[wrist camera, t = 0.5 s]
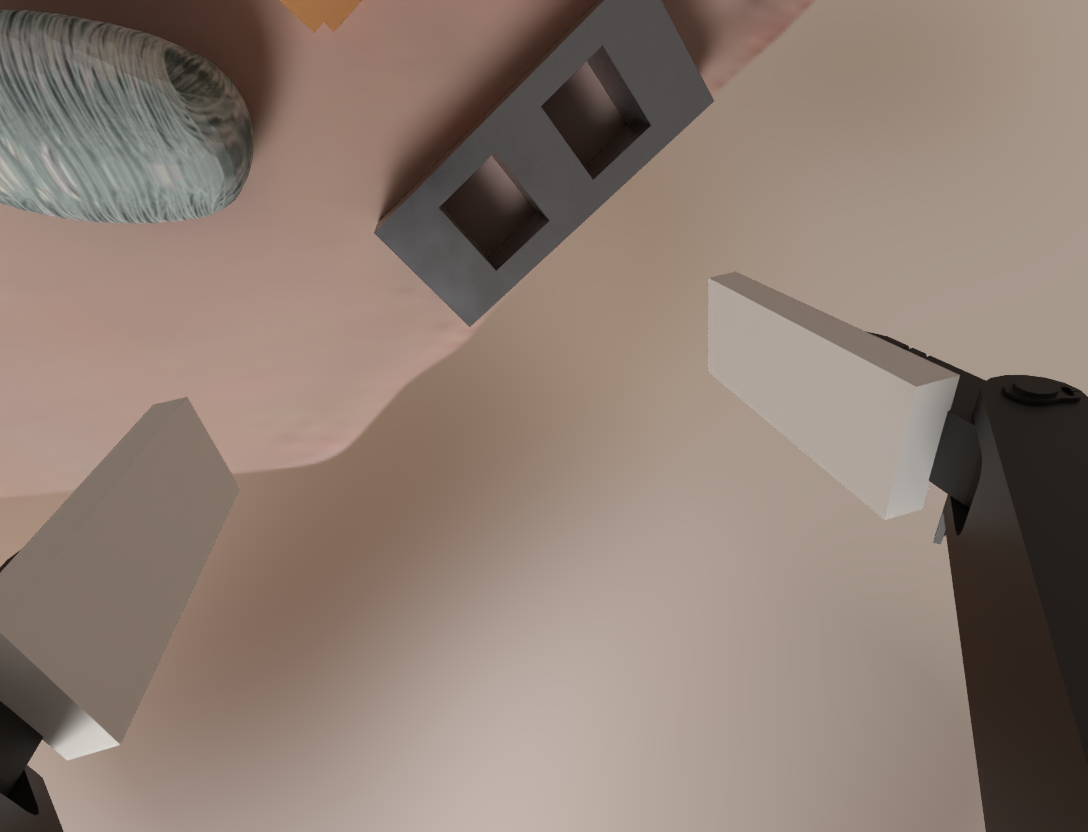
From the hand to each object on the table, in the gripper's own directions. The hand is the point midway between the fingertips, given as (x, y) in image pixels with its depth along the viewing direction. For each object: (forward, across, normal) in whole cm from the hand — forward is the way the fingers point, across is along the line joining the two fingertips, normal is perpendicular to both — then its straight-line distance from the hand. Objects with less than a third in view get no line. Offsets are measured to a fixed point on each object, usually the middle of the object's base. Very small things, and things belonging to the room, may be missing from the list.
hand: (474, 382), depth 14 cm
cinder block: (+25, +7, +2) cm, 26 cm away
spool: (+26, -15, +8) cm, 31 cm away
